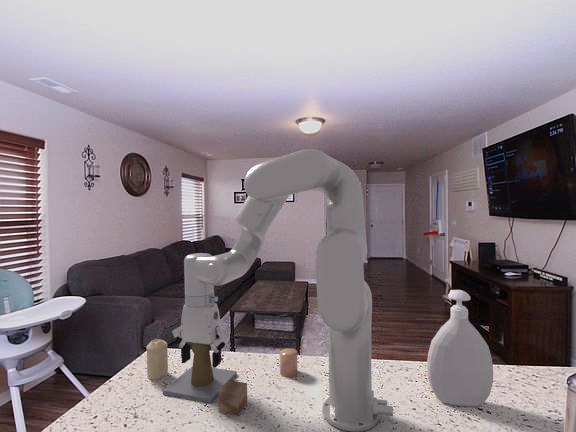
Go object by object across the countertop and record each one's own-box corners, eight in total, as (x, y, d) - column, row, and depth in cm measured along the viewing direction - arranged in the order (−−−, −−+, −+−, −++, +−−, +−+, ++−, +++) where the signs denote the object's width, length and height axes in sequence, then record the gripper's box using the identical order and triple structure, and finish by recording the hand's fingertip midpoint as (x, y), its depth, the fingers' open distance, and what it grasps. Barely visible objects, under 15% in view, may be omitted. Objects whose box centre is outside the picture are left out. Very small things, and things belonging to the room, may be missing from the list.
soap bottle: (484, 393, 82) (484, 286, 81) (499, 413, 74) (499, 294, 73) (423, 388, 84) (422, 284, 84) (430, 407, 76) (430, 292, 76)
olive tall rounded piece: (207, 387, 84) (207, 345, 84) (186, 385, 86) (185, 344, 85) (217, 375, 90) (216, 336, 90) (197, 373, 92) (196, 335, 91)
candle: (172, 373, 94) (171, 338, 94) (155, 381, 90) (154, 345, 89) (160, 368, 97) (159, 335, 97) (143, 376, 93) (142, 341, 92)
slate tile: (236, 374, 93) (236, 371, 93) (211, 403, 79) (211, 399, 79) (194, 368, 97) (193, 365, 97) (162, 394, 84) (162, 390, 83)
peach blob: (299, 369, 95) (299, 349, 95) (294, 378, 90) (294, 357, 90) (283, 367, 96) (282, 347, 96) (277, 376, 92) (277, 355, 92)
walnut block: (247, 403, 79) (247, 383, 79) (238, 416, 74) (237, 394, 74) (228, 400, 81) (228, 380, 81) (218, 412, 76) (218, 391, 76)
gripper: (235, 298, 89) (236, 360, 89) (180, 294, 94) (182, 353, 94) (221, 306, 81) (223, 374, 82) (163, 301, 87) (165, 365, 87)
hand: (201, 363), depth 88 cm, fingers open, 9 cm apart
